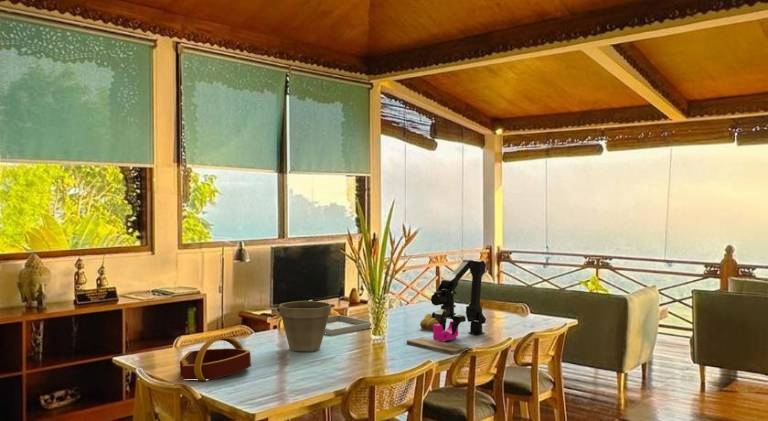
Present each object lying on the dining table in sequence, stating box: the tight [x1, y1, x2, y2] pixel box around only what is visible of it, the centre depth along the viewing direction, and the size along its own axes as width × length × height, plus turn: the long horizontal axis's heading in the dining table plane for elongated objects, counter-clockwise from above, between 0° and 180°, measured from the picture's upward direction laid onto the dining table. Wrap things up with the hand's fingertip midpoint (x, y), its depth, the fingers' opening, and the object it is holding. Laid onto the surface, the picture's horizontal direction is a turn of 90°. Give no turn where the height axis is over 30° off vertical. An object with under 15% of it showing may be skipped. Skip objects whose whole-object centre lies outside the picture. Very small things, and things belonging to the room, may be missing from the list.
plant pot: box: [278, 300, 332, 352], centre depth 309 cm, size 25×25×22 cm
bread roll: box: [419, 313, 440, 331], centre depth 355 cm, size 13×10×8 cm
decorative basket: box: [179, 335, 252, 380], centre depth 268 cm, size 34×29×15 cm
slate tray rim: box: [324, 314, 371, 336], centre depth 360 cm, size 31×31×3 cm
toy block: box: [432, 320, 459, 342], centre depth 328 cm, size 15×6×8 cm, turn 133°
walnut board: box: [406, 336, 470, 355], centre depth 313 cm, size 12×30×2 cm, turn 43°
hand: (448, 333), depth 328 cm, fingers closed on toy block, 6 cm apart
